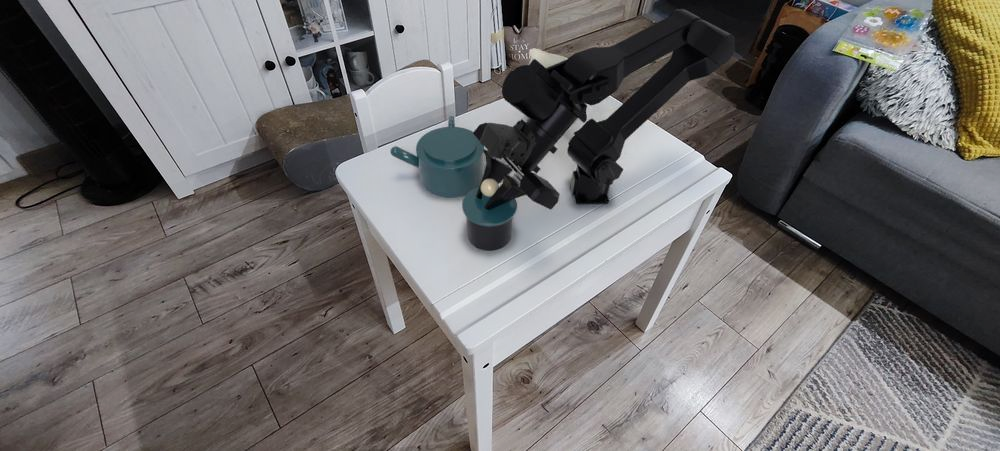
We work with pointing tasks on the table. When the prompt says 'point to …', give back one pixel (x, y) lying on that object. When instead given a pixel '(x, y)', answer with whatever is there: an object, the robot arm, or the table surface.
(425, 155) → the teapot
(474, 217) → the teapot lid
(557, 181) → the table surface
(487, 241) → the tea tin
